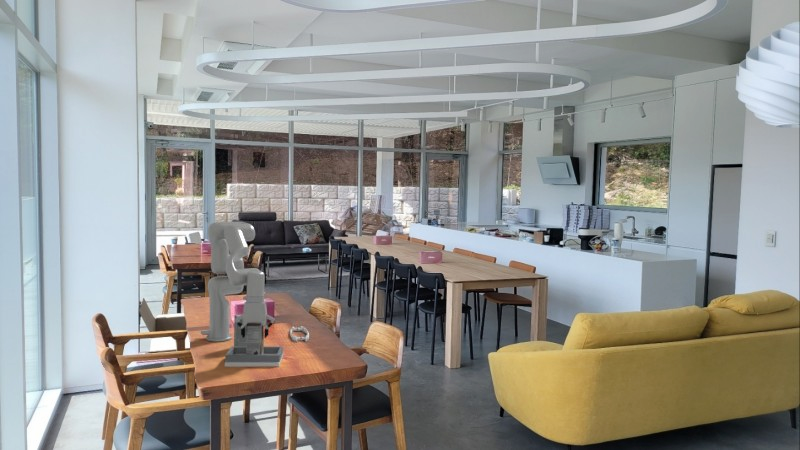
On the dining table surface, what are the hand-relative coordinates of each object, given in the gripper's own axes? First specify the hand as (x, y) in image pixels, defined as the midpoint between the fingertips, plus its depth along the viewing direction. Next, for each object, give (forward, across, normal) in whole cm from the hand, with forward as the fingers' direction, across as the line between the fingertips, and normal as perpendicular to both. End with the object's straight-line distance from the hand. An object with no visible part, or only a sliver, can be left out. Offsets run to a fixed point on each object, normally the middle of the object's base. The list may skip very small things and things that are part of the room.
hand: (254, 336), depth 250 cm
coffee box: (+9, 0, 0) cm, 9 cm away
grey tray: (+11, 0, -1) cm, 11 cm away
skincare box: (+11, -8, +19) cm, 24 cm away
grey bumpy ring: (+12, +16, +41) cm, 46 cm away
